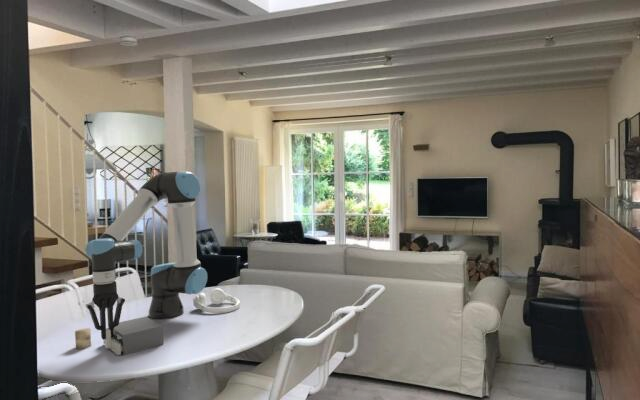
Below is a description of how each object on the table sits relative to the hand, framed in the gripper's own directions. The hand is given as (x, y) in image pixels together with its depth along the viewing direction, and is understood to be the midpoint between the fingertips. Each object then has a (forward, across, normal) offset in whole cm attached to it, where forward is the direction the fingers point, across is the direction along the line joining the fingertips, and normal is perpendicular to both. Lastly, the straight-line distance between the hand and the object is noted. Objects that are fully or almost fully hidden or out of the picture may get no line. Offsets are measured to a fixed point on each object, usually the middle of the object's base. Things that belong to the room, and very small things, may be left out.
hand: (108, 347), depth 162 cm
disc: (-1, +7, 0) cm, 7 cm away
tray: (+1, +8, 0) cm, 8 cm away
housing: (+1, +10, 0) cm, 10 cm away
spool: (+1, -5, +12) cm, 13 cm away
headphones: (+2, +56, +21) cm, 59 cm away
